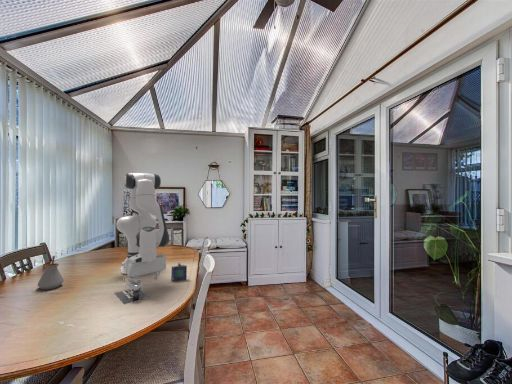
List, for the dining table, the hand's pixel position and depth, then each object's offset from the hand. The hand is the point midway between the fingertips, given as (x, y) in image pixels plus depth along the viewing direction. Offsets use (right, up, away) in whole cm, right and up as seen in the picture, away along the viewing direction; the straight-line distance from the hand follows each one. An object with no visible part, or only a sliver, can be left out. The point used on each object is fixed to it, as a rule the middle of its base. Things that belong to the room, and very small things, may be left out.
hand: (147, 281), depth 134 cm
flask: (+12, -6, +18) cm, 23 cm away
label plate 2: (-4, -5, -9) cm, 10 cm away
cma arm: (-5, 0, -7) cm, 9 cm away
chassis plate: (-5, -6, -7) cm, 11 cm away
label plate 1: (-8, -5, -4) cm, 10 cm away
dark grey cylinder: (0, -5, -13) cm, 13 cm away
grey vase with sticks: (-61, -5, +8) cm, 61 cm away
